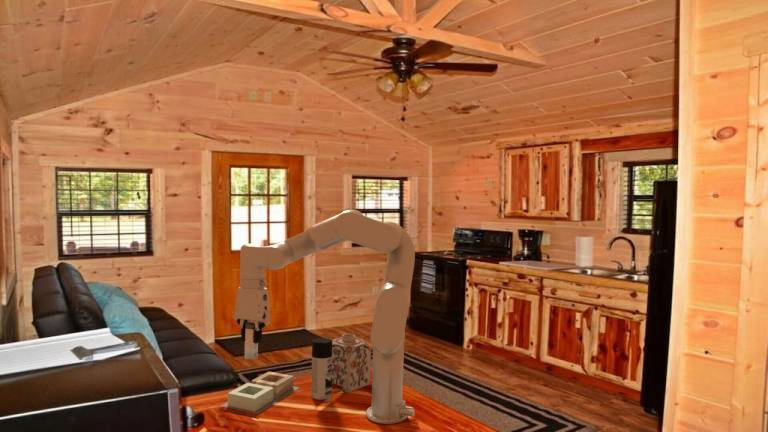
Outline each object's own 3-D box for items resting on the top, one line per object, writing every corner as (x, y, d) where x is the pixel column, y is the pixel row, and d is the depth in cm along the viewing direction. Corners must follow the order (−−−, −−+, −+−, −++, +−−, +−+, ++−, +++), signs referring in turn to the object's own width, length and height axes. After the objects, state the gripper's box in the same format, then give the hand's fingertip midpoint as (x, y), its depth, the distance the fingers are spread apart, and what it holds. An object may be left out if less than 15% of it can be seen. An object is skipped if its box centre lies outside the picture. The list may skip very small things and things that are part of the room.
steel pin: (260, 356, 171) (260, 322, 170) (252, 360, 167) (253, 325, 167) (249, 354, 172) (250, 320, 172) (241, 358, 169) (242, 323, 168)
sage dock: (273, 399, 173) (273, 387, 173) (254, 411, 164) (254, 398, 164) (247, 394, 177) (247, 382, 177) (227, 405, 168) (227, 393, 168)
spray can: (328, 405, 174) (329, 343, 173) (308, 402, 175) (309, 342, 174) (334, 397, 181) (335, 338, 180) (314, 395, 182) (315, 336, 181)
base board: (299, 391, 185) (299, 387, 184) (258, 418, 162) (258, 414, 162) (265, 385, 190) (265, 380, 190) (220, 410, 168) (220, 405, 168)
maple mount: (293, 387, 184) (293, 375, 184) (276, 397, 175) (276, 385, 175) (268, 382, 188) (268, 371, 188) (251, 392, 179) (251, 380, 179)
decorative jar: (324, 385, 191) (325, 335, 191) (347, 376, 200) (348, 329, 199) (348, 394, 184) (350, 342, 183) (371, 385, 193) (372, 335, 192)
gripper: (281, 284, 169) (280, 342, 170) (237, 279, 175) (236, 335, 176) (268, 288, 162) (266, 348, 163) (222, 282, 168) (221, 340, 169)
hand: (251, 340), depth 169 cm, fingers closed on steel pin, 4 cm apart
